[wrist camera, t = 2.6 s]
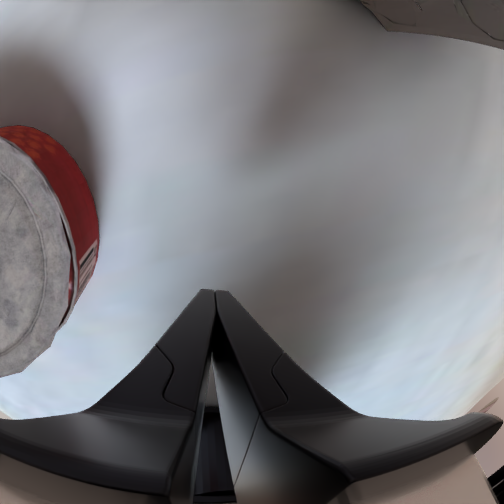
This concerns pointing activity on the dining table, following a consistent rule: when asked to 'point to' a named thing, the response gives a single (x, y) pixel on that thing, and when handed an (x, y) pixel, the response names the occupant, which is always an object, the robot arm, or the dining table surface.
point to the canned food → (40, 242)
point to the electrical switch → (444, 18)
